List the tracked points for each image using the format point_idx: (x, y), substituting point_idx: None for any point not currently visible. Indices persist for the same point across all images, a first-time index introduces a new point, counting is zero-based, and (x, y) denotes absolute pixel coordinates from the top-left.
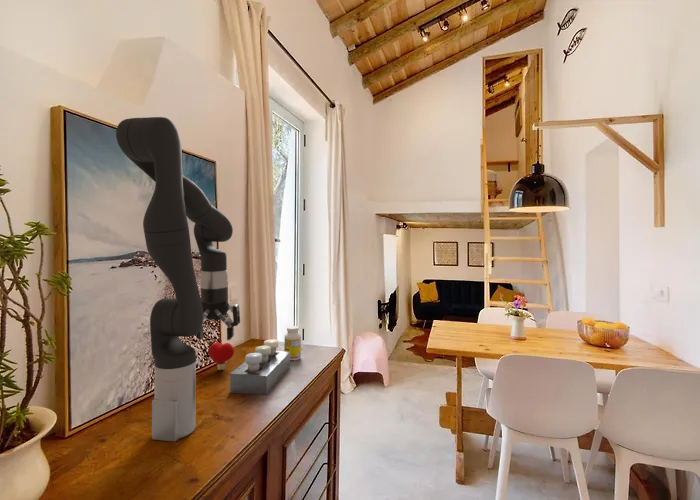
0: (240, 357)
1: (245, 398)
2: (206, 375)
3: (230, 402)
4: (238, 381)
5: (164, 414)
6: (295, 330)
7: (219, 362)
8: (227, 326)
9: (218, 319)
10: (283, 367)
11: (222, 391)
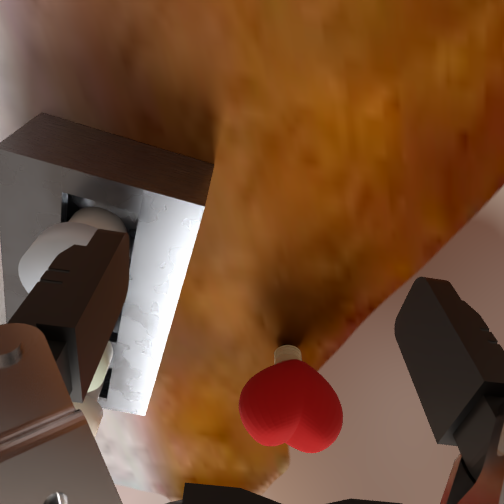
0: (239, 419)
1: (129, 91)
2: (333, 316)
3: (188, 57)
4: (167, 176)
5: None
6: None
7: (291, 360)
8: (47, 346)
9: (191, 495)
10: None
11: (248, 177)
